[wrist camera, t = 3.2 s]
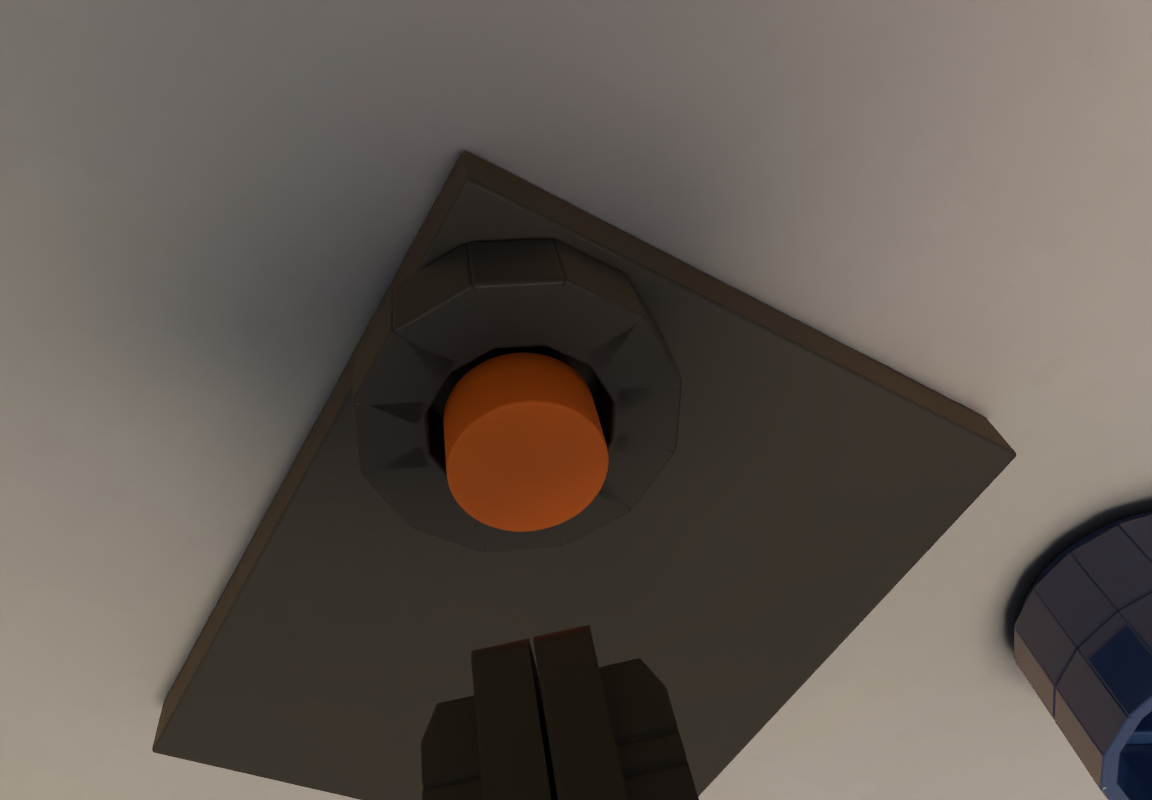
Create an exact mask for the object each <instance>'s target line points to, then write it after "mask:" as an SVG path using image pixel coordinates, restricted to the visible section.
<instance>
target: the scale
mask: <svg viewBox="0 0 1152 800" xmlns="http://www.w3.org/2000/svg"><path fill="white" fill-rule="evenodd" d="M518 352H529V353H538V354H542V355H547V356H550V357H553V358H555V359H558V360H560V361H561V362H563V363H565V364H567V365H568V366H570V367H571V368H573V369H574V370H575V371H576V372H577V373H578V374H579V375H580V376H581V377H582V378H583V380H584V381H585V382H586V384H587V386H588V387H589V389H590V392H591V394H592V397H593V400H594V404H595V407H596V411H597V414H598V417H599V421H600V424H601V428H602V431H603V435H604V438H605V442H606V445H607V450H608V458H609V463H608V471H607V475H606V478H605V481H604V483H603V485H602V488H601V489H600V491H599V493H598V494H597V496H596V497H595V498H594V500H593V501H592V502H591V503H590V504H589V505H588V506H587V507H586V508H585V509H584V510H583V511H581V512H580V513H579V514H577V515H576V516H574V517H573V518H571V519H569V520H567V521H565V522H563V523H561V524H559V525H556V526H553V527H550V528H546V529H542V530H537V531H527V532H516V531H506V530H501V529H497V528H494V527H490V526H488V525H486V524H483V523H481V522H479V521H478V520H476V519H474V518H473V517H472V516H470V515H469V514H468V513H466V512H465V510H464V509H463V508H462V507H461V506H460V505H459V504H458V503H457V501H456V500H455V498H454V497H453V495H452V493H451V491H450V488H449V484H448V480H447V472H446V456H445V440H444V424H443V419H444V410H445V405H446V402H447V399H448V397H449V395H450V393H451V391H452V390H453V388H454V387H455V385H456V384H457V383H458V381H459V380H460V379H461V378H462V377H463V376H464V375H465V374H466V373H468V372H469V371H470V370H471V369H473V368H474V367H476V366H477V365H479V364H480V363H482V362H484V361H486V360H489V359H491V358H494V357H497V356H500V355H505V354H510V353H518ZM1015 457H1016V453H1015V451H1014V450H1013V449H1012V448H1011V447H1010V445H1009V444H1008V443H1007V442H1006V441H1005V440H1004V438H1003V437H1002V436H1001V435H1000V434H999V433H998V431H997V430H996V429H995V428H994V427H993V426H992V424H991V423H990V422H989V421H988V420H987V419H986V418H984V417H983V416H981V415H979V414H977V413H975V412H973V411H971V410H969V409H967V408H965V407H963V406H961V405H959V404H957V403H955V402H953V401H951V400H949V399H947V398H946V397H944V396H942V395H940V394H938V393H936V392H934V391H932V390H930V389H928V388H926V387H924V386H922V385H920V384H918V383H916V382H914V381H912V380H911V379H909V378H907V377H905V376H903V375H901V374H899V373H897V372H895V371H893V370H891V369H889V368H887V367H885V366H883V365H881V364H879V363H877V362H876V361H874V360H872V359H870V358H868V357H866V356H864V355H862V354H860V353H858V352H856V351H854V350H852V349H850V348H848V347H846V346H844V345H842V344H841V343H839V342H837V341H835V340H833V339H831V338H829V337H827V336H825V335H823V334H821V333H819V332H817V331H815V330H813V329H811V328H809V327H807V326H806V325H804V324H802V323H800V322H798V321H796V320H794V319H792V318H790V317H788V316H786V315H784V314H782V313H780V312H778V311H776V310H774V309H772V308H770V307H769V306H767V305H765V304H763V303H761V302H759V301H757V300H755V299H753V298H751V297H749V296H747V295H745V294H743V293H741V292H739V291H737V290H735V289H734V288H732V287H730V286H728V285H726V284H724V283H722V282H720V281H718V280H716V279H714V278H712V277H710V276H708V275H706V274H704V273H702V272H700V271H699V270H697V269H695V268H693V267H691V266H689V265H687V264H685V263H683V262H681V261H679V260H677V259H675V258H673V257H671V256H669V255H667V254H665V253H664V252H662V251H660V250H658V249H656V248H654V247H652V246H650V245H648V244H646V243H644V242H642V241H640V240H638V239H636V238H634V237H632V236H630V235H629V234H627V233H625V232H623V231H621V230H619V229H617V228H615V227H613V226H611V225H609V224H607V223H605V222H603V221H601V220H599V219H597V218H595V217H594V216H592V215H590V214H588V213H586V212H584V211H582V210H580V209H578V208H576V207H574V206H572V205H570V204H568V203H566V202H564V201H562V200H560V199H558V198H557V197H555V196H553V195H551V194H549V193H547V192H545V191H543V190H541V189H539V188H537V187H535V186H533V185H531V184H529V183H527V182H525V181H523V180H522V179H520V178H518V177H516V176H514V175H512V174H510V173H508V172H506V171H504V170H502V169H500V168H498V167H496V166H494V165H492V164H490V163H488V162H487V161H485V160H483V159H481V158H479V157H477V156H475V155H473V154H471V153H469V152H467V151H463V152H462V153H461V155H460V156H459V158H458V160H457V162H456V164H455V166H454V167H453V169H452V171H451V173H450V175H449V177H448V179H447V180H446V182H445V184H444V186H443V188H442V190H441V191H440V193H439V195H438V197H437V199H436V201H435V203H434V204H433V206H432V208H431V210H430V212H429V214H428V216H427V217H426V219H425V221H424V223H423V225H422V227H421V228H420V230H419V232H418V234H417V236H416V238H415V240H414V241H413V243H412V245H411V247H410V249H409V251H408V252H407V254H406V256H405V258H404V260H403V262H402V264H401V265H400V267H399V269H398V271H397V273H396V275H395V276H394V278H393V280H392V282H391V284H390V286H389V288H388V289H387V291H386V293H385V295H384V297H383V299H382V300H381V302H380V304H379V306H378V308H377V310H376V312H375V313H374V315H373V317H372V319H371V321H370V323H369V325H368V326H367V328H366V330H365V332H364V334H363V336H362V337H361V339H360V341H359V343H358V345H357V347H356V349H355V350H354V352H353V354H352V356H351V358H350V360H349V361H348V363H347V365H346V367H345V369H344V371H343V373H342V374H341V376H340V378H339V380H338V382H337V384H336V385H335V387H334V389H333V391H332V393H331V395H330V397H329V398H328V400H327V402H326V404H325V406H324V408H323V409H322V411H321V413H320V415H319V417H318V419H317V421H316V422H315V424H314V426H313V428H312V430H311V432H310V434H309V435H308V437H307V439H306V441H305V443H304V445H303V446H302V448H301V450H300V452H299V454H298V456H297V458H296V459H295V461H294V463H293V465H292V467H291V469H290V470H289V472H288V474H287V476H286V478H285V480H284V482H283V483H282V485H281V487H280V489H279V491H278V493H277V494H276V496H275V498H274V500H273V502H272V504H271V506H270V507H269V509H268V511H267V513H266V515H265V517H264V518H263V520H262V522H261V524H260V526H259V528H258V530H257V531H256V533H255V535H254V537H253V539H252V541H251V543H250V544H249V546H248V548H247V550H246V552H245V554H244V555H243V557H242V559H241V561H240V563H239V565H238V567H237V568H236V570H235V572H234V574H233V576H232V578H231V579H230V581H229V583H228V585H227V587H226V589H225V591H224V592H223V594H222V596H221V598H220V600H219V602H218V603H217V605H216V607H215V609H214V611H213V613H212V615H211V616H210V618H209V620H208V622H207V624H206V626H205V627H204V629H203V631H202V633H201V635H200V637H199V639H198V640H197V642H196V644H195V646H194V648H193V650H192V652H191V653H190V655H189V657H188V659H187V661H186V663H185V664H184V666H183V668H182V670H181V672H180V674H179V676H178V677H177V679H176V681H175V683H174V685H173V687H172V688H171V690H170V692H169V694H168V696H167V698H166V700H165V701H164V703H163V707H162V711H161V715H160V719H159V723H158V727H157V732H156V736H155V740H154V744H153V748H152V749H153V752H155V753H159V754H164V755H168V756H172V757H177V758H181V759H186V760H190V761H194V762H199V763H203V764H207V765H212V766H216V767H221V768H225V769H229V770H234V771H238V772H242V773H247V774H251V775H256V776H260V777H264V778H269V779H273V780H278V781H282V782H286V783H291V784H295V785H299V786H304V787H308V788H313V789H317V790H321V791H326V792H330V793H334V794H339V795H343V796H348V797H352V798H356V799H361V800H422V791H423V784H422V763H421V741H422V739H423V736H424V734H425V732H426V729H427V727H428V724H429V722H430V719H431V717H432V715H433V712H434V710H435V707H436V705H437V704H438V703H442V702H447V701H451V700H456V699H460V698H465V697H469V696H474V688H473V676H472V664H471V652H472V651H473V650H478V649H482V648H487V647H491V646H496V645H500V644H505V643H509V642H514V641H518V640H523V639H527V638H529V641H530V644H531V647H532V651H533V655H534V659H535V663H536V667H537V662H536V655H535V649H534V641H533V637H535V636H539V635H544V634H549V633H553V632H558V631H562V630H567V629H571V628H576V627H580V626H585V625H590V630H591V634H592V639H593V643H594V648H595V652H596V657H597V661H598V666H599V667H602V666H607V665H611V664H616V663H620V662H624V661H629V660H633V659H638V658H641V660H642V661H643V662H644V663H645V664H646V665H647V666H648V667H649V668H650V670H651V671H652V672H653V673H654V674H655V675H656V676H657V677H658V678H659V680H660V681H661V682H662V683H663V684H664V685H665V686H666V688H667V691H668V695H669V698H670V702H671V705H672V709H673V712H674V716H675V719H676V723H677V727H678V731H679V733H680V736H681V740H682V743H683V747H684V750H685V754H686V758H687V762H688V764H689V768H690V771H691V774H692V778H693V781H694V785H695V788H696V792H697V795H698V796H699V795H700V794H701V793H702V792H703V791H704V790H705V789H706V788H707V787H708V785H709V784H710V783H711V782H712V781H713V780H714V779H715V778H716V777H717V776H718V775H719V774H720V773H721V772H722V770H723V769H724V768H725V767H726V766H727V765H728V764H729V763H730V762H731V761H732V760H733V759H734V758H735V757H736V755H737V754H738V753H739V752H740V751H741V750H742V749H743V748H744V747H745V746H746V745H747V744H748V743H749V742H750V740H751V739H752V738H753V737H754V736H755V735H756V734H757V733H758V732H759V731H760V730H761V729H762V728H763V727H764V725H765V724H766V723H767V722H768V721H769V720H770V719H771V718H772V717H773V716H774V715H775V714H776V713H777V712H778V710H779V709H780V708H781V707H782V706H783V705H784V704H785V703H786V702H787V701H788V700H789V699H790V698H791V697H792V695H793V694H794V693H795V692H796V691H797V690H798V689H799V688H800V687H801V686H802V685H803V684H804V683H805V682H806V680H807V679H808V678H809V677H810V676H811V675H812V674H813V673H814V672H815V671H816V670H817V669H818V668H819V667H820V665H821V664H822V663H823V662H824V661H825V660H826V659H827V658H828V657H829V656H830V655H831V654H832V653H833V652H834V650H835V649H836V648H837V647H838V646H839V645H840V644H841V643H842V642H843V641H844V640H845V639H846V638H847V637H848V636H849V634H850V633H851V632H852V631H853V630H854V629H855V628H856V627H857V626H858V625H859V624H860V623H861V622H862V621H863V619H864V618H865V617H866V616H867V615H868V614H869V613H870V612H871V611H872V610H873V609H874V608H875V607H876V606H877V604H878V603H879V602H880V601H881V600H882V599H883V598H884V597H885V596H886V595H887V594H888V593H889V592H890V591H891V589H892V588H893V587H894V586H895V585H896V584H897V583H898V582H899V581H900V580H901V579H902V578H903V577H904V576H905V574H906V573H907V572H908V571H909V570H910V569H911V568H912V567H913V566H914V565H915V564H916V563H917V562H918V561H919V559H920V558H921V557H922V556H923V555H924V554H925V553H926V552H927V551H928V550H929V549H930V548H931V547H932V546H933V544H934V543H935V542H936V541H937V540H938V539H939V538H940V537H941V536H942V535H943V534H944V533H945V532H946V531H947V529H948V528H949V527H950V526H951V525H952V524H953V523H954V522H955V521H956V520H957V519H958V518H959V517H960V516H961V514H962V513H963V512H964V511H965V510H966V509H967V508H968V507H969V506H970V505H971V504H972V503H973V502H974V501H975V499H976V498H977V497H978V496H979V495H980V494H981V493H982V492H983V491H984V490H985V489H986V488H987V487H988V486H989V484H990V483H991V482H992V481H993V480H994V479H995V478H996V477H997V476H998V475H999V474H1000V473H1001V472H1002V471H1003V469H1004V468H1005V467H1006V466H1007V465H1008V464H1009V463H1010V462H1011V461H1012V460H1013V459H1014V458H1015ZM537 671H538V668H537Z"/></svg>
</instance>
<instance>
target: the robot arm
mask: <svg viewBox="0 0 1152 800" xmlns="http://www.w3.org/2000/svg"><path fill="white" fill-rule="evenodd" d="M533 641H534V649H535V655H536V662H537V667H536V663H535V659H534V655H533V651H532V647H531V644H530V641H529V638H527V639H523V640H518V641H514V642H509V643H505V644H500V645H496V646H491V647H487V648H482V649H478V650H473V651H472V652H471V664H472V676H473V688H474V696H469V697H465V698H460V699H456V700H451V701H447V702H442V703H438V704H437V705H436V707H435V710H434V712H433V715H432V717H431V719H430V722H429V724H428V727H427V729H426V732H425V734H424V736H423V739H422V741H421V763H422V784H423V791H422V800H699V799H698V795H697V792H696V788H695V785H694V781H693V778H692V774H691V771H690V768H689V764H688V762H687V758H686V754H685V750H684V747H683V743H682V740H681V736H680V733H679V731H678V727H677V723H676V719H675V716H674V712H673V709H672V705H671V702H670V698H669V695H668V691H667V688H666V686H665V685H664V684H663V683H662V682H661V681H660V680H659V678H658V677H657V676H656V675H655V674H654V673H653V672H652V671H651V670H650V668H649V667H648V666H647V665H646V664H645V663H644V662H643V661H642V660H641V658H638V659H633V660H629V661H624V662H620V663H616V664H611V665H607V666H602V667H599V666H598V661H597V657H596V652H595V648H594V643H593V639H592V634H591V630H590V625H585V626H580V627H576V628H571V629H567V630H562V631H558V632H553V633H549V634H544V635H539V636H535V637H533ZM537 668H538V671H537Z"/></svg>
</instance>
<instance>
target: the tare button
mask: <svg viewBox="0 0 1152 800" xmlns="http://www.w3.org/2000/svg"><path fill="white" fill-rule="evenodd" d="M443 424H444V440H445V456H446V472H447V480H448V484H449V488H450V491H451V493H452V495H453V497H454V498H455V500H456V501H457V503H458V504H459V505H460V506H461V507H462V508H463V509H464V510H465V512H466V513H468V514H469V515H470V516H472V517H473V518H474V519H476V520H478V521H479V522H481V523H483V524H486V525H488V526H490V527H494V528H497V529H501V530H506V531H516V532H527V531H537V530H542V529H546V528H550V527H553V526H556V525H559V524H561V523H563V522H565V521H567V520H569V519H571V518H573V517H574V516H576V515H577V514H579V513H580V512H581V511H583V510H584V509H585V508H586V507H587V506H588V505H589V504H590V503H591V502H592V501H593V500H594V498H595V497H596V496H597V494H598V493H599V491H600V489H601V488H602V485H603V483H604V481H605V478H606V475H607V471H608V463H609V458H608V450H607V445H606V442H605V438H604V435H603V431H602V428H601V424H600V421H599V417H598V414H597V411H596V407H595V404H594V400H593V397H592V394H591V392H590V389H589V387H588V386H587V384H586V382H585V381H584V380H583V378H582V377H581V376H580V375H579V374H578V373H577V372H576V371H575V370H574V369H573V368H571V367H570V366H568V365H567V364H565V363H563V362H561V361H560V360H558V359H555V358H553V357H550V356H547V355H542V354H538V353H529V352H518V353H510V354H505V355H500V356H497V357H494V358H491V359H489V360H486V361H484V362H482V363H480V364H479V365H477V366H476V367H474V368H473V369H471V370H470V371H469V372H468V373H466V374H465V375H464V376H463V377H462V378H461V379H460V380H459V381H458V383H457V384H456V385H455V387H454V388H453V390H452V391H451V393H450V395H449V397H448V399H447V402H446V405H445V410H444V419H443Z"/></svg>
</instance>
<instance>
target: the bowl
mask: <svg viewBox="0 0 1152 800" xmlns="http://www.w3.org/2000/svg"><path fill="white" fill-rule="evenodd" d="M1014 658H1015V660H1016V663H1017V665H1018V666H1019V668H1020V669H1021V671H1022V672H1023V674H1024V675H1025V677H1026V678H1027V680H1028V681H1029V683H1030V684H1031V686H1032V687H1033V689H1034V690H1035V692H1036V693H1037V695H1038V696H1039V698H1040V699H1041V701H1042V702H1043V704H1044V705H1045V707H1046V708H1047V710H1048V711H1049V713H1050V714H1051V716H1052V717H1053V719H1054V720H1055V722H1056V723H1057V725H1058V726H1059V728H1060V729H1061V731H1062V732H1063V734H1064V736H1065V737H1066V739H1067V740H1068V742H1069V743H1070V745H1071V746H1072V748H1073V749H1074V751H1075V752H1076V754H1077V755H1078V757H1079V758H1080V760H1081V761H1082V763H1083V764H1084V766H1085V767H1086V769H1087V770H1088V772H1089V773H1090V775H1091V776H1092V778H1093V779H1094V781H1095V782H1096V784H1097V785H1098V787H1099V788H1100V790H1101V791H1102V792H1103V794H1104V795H1105V796H1106V798H1107V799H1108V800H1152V512H1146V513H1141V514H1137V515H1133V516H1129V517H1126V518H1123V519H1120V520H1117V521H1114V522H1112V523H1110V524H1107V525H1105V526H1103V527H1100V528H1099V529H1097V530H1095V531H1093V532H1091V533H1089V534H1087V535H1086V536H1084V537H1083V538H1081V539H1079V540H1078V541H1076V542H1075V543H1073V544H1072V545H1071V546H1069V547H1068V548H1067V549H1066V550H1064V551H1063V552H1062V553H1061V554H1060V555H1058V556H1057V557H1056V558H1055V559H1054V560H1053V561H1052V562H1051V563H1050V564H1049V565H1048V566H1047V567H1046V568H1045V569H1044V570H1043V572H1042V573H1041V574H1040V575H1039V577H1038V578H1037V579H1036V581H1035V582H1034V584H1033V585H1032V587H1031V589H1030V591H1029V592H1028V594H1027V597H1026V599H1025V601H1024V604H1023V607H1022V611H1021V612H1020V614H1019V616H1018V618H1017V620H1016V622H1015V627H1014Z"/></svg>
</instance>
